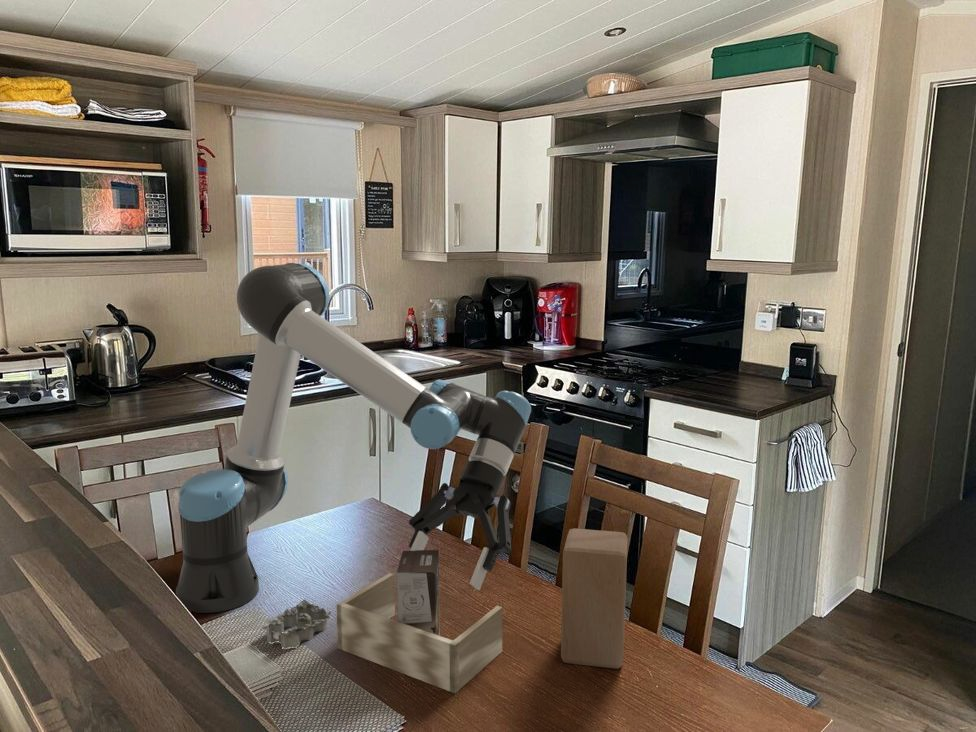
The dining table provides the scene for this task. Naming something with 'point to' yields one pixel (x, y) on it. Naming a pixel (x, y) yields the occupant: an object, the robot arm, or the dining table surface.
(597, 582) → the block
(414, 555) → the coffee box
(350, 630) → the wooden u-shaped frame
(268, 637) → the egg carton
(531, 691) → the dining table surface
